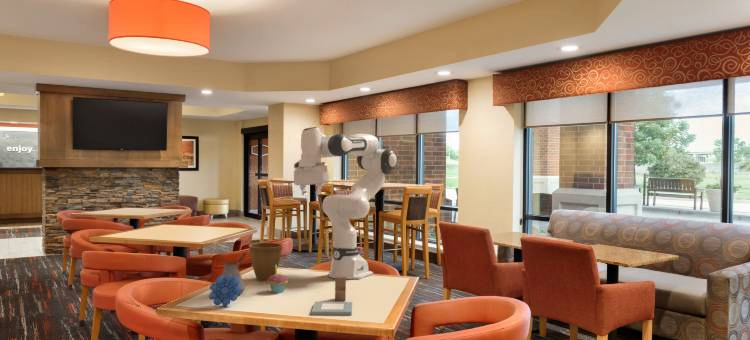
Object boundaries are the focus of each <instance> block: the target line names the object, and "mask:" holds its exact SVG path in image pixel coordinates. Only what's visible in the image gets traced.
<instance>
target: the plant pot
mask: <svg viewBox="0 0 750 340" xmlns="http://www.w3.org/2000/svg"><path fill="white" fill-rule="evenodd" d="M248 248H249V255H250V261H251V264H252V265H251V266H252V268H253V272H254V275H255V278H256V280H257V281H259V282H267V281H268V278H269V277H270V276H272V275H275V274H276V272H275V265H277V268H278V267H279V263H280V259H281V255H282V248H283V245H282V244H281V243H277V242H255V243H251V244H249V245H248Z"/></svg>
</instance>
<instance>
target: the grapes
mask: <svg viewBox="0 0 750 340" xmlns="http://www.w3.org/2000/svg"><path fill="white" fill-rule="evenodd" d="M232 278H233V276H232V275H231V274H227V275H226V276H225V277H223V276H221V275H219V276H218V277H216V279H215V282H213V283H212V284H210V286H209V290H210V291H211V292H209V295H208V298H209V299H210V300H213V304H214V305H215V306H220V305H222V306H223V307H227V306H229V305H230V304H231V302H235V301H237V299H238V297H239V295H237V293H238V292H240V291H241V286H240V285H237V284H238V283H239V278H238V277H234V278H233V279H232Z"/></svg>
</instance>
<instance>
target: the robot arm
mask: <svg viewBox="0 0 750 340" xmlns="http://www.w3.org/2000/svg"><path fill="white" fill-rule="evenodd" d="M379 148H380V142H379V139H378V137H377V136H375V135H373V134H369V133H356V134H351V135H349V136H347V135H345V134H343V133H338V134H337V133H336V134H333V135H325V134H324V133H322V132H321V130H320V127H317V126H312V127H307V128H304V129H303V130H302V131H301V138H300V150H301V154H300V159H299V160H298V161H297V162H294V164H293V169H294V171H293V183H294V185H295V186H299V188H300V191H301V195H302V196H308V191H307V190H306V187H307V186H312V185H316V187H317V188H316V190H315V195H321V193H322V188H323V185H325V184H329V182H330V181H329V179H330V177H329V176H330V175H329V170H328V165H327V163H326V162H325V161H323V162H322V158H323V159H326V158H333V157H335V158H336V157H345V156H347V155H348V154H349V155H350V156H353V157H356V163H357V166H358V168H360V169H361V170H364V171H367V172H366V173H365V174H363V175H362V176H361V177H360V178H359V179H358V180H357V181H356V182H354V183H353V184H351V188H350V193H349V194H330V195H326V196H325V197H324V199H323V202H322V206H321V207H322V211H323V213H325V215H326V216H327V217H328V219H329V221H330V224H331V227H332V232H333V233H332V235H333V237H332V238H333V240H332V241H333V246H332V252H331V253H332V258H331V264H330V271H329V273H328V274H329V277H330V278H332V279H335V277H336V276H346V280H362V279H363V278H366V277H368V276H372V275H373V274H374V272H373V271H371V270H369V264H368V261H367V260H366V259H364V257H362V256H361V255H360V252H362V251H363V247H362V246H357V237H358V235H357V233H358V232H357V230H356V228H355V227H354V226H353V225H352V224H351V221H350V219H353V220H354V219H355V220H357V219H364V218H366V217H367V215H368V214H369V212H370V208H371V207H370V206H371V205H370V202H369V201H370V200H371V199H372V198H374V196H375V195H376V194H377V193H378V192H379V191H380V190H381V189H382V187H383V186H384V184H385V182H386V177H385V175H389V174H391V172H392V171H393V170H394V169H395V168H396V166H397V164H398V156H397V154H396V152H395V151H394V150H392V149H379Z"/></svg>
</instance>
